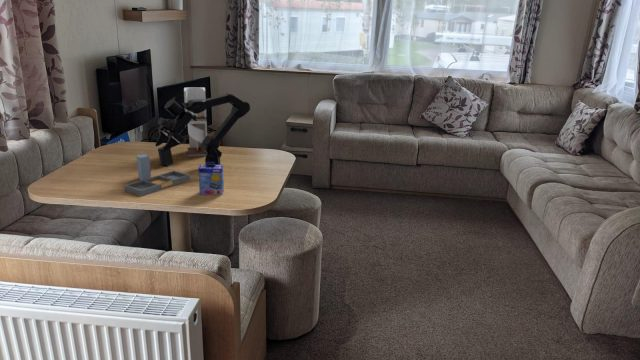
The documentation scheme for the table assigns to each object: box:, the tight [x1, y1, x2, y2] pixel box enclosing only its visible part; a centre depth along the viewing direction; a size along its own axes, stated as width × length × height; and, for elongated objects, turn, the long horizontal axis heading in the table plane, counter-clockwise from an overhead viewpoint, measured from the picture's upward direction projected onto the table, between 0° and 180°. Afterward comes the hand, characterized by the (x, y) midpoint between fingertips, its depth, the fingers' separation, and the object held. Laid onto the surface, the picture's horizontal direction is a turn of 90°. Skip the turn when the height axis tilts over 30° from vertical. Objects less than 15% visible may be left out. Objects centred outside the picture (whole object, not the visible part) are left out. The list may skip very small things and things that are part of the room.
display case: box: [183, 87, 208, 157], centre depth 264 cm, size 11×11×35 cm
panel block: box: [136, 153, 152, 181], centre depth 225 cm, size 4×5×11 cm
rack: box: [124, 170, 191, 197], centre depth 219 cm, size 27×11×2 cm, turn 148°
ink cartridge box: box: [198, 162, 225, 196], centre depth 210 cm, size 10×6×14 cm, turn 95°
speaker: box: [157, 145, 174, 168], centre depth 248 cm, size 8×6×10 cm
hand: (159, 148), depth 227 cm, fingers open, 9 cm apart
